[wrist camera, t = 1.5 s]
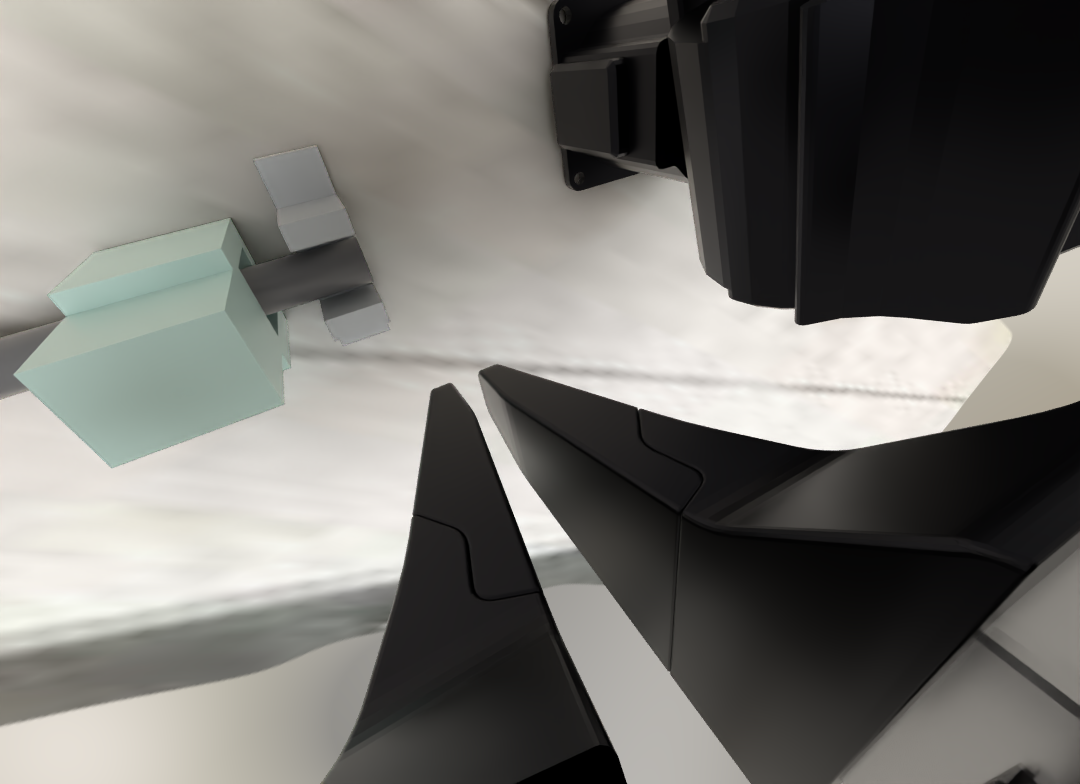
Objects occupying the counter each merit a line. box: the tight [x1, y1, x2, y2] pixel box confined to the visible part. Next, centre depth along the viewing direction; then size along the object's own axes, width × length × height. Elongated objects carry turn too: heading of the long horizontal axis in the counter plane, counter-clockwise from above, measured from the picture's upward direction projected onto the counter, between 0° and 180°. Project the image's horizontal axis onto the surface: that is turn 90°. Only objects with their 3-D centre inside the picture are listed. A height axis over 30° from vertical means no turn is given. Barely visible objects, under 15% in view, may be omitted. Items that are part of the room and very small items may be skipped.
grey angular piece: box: [0, 145, 390, 399], centre depth 13 cm, size 18×7×4 cm, turn 99°
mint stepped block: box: [13, 218, 291, 468], centre depth 13 cm, size 4×4×7 cm
